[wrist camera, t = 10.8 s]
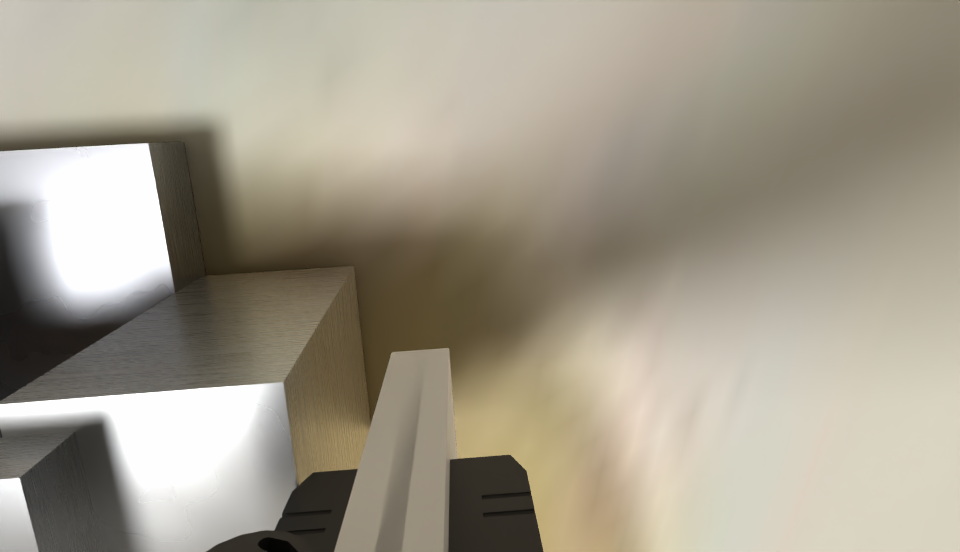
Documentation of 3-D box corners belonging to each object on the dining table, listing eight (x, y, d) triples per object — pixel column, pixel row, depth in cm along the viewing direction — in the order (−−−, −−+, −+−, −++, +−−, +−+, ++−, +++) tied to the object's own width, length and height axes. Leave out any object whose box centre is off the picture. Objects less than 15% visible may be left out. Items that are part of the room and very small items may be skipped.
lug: (47, 286, 16) (-434, 477, 7) (354, 265, 16) (260, 419, 8) (86, 457, 17) (-285, 804, 8) (371, 433, 18) (307, 737, 9)
